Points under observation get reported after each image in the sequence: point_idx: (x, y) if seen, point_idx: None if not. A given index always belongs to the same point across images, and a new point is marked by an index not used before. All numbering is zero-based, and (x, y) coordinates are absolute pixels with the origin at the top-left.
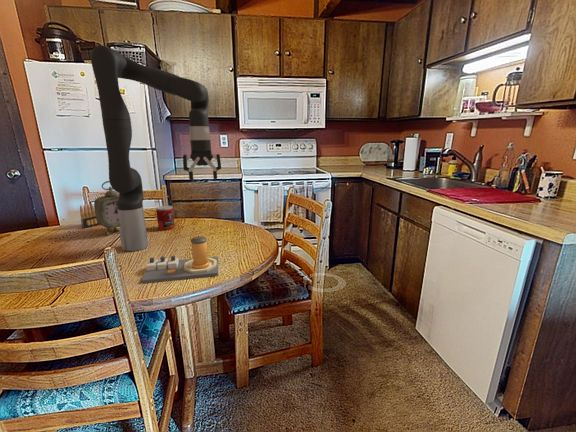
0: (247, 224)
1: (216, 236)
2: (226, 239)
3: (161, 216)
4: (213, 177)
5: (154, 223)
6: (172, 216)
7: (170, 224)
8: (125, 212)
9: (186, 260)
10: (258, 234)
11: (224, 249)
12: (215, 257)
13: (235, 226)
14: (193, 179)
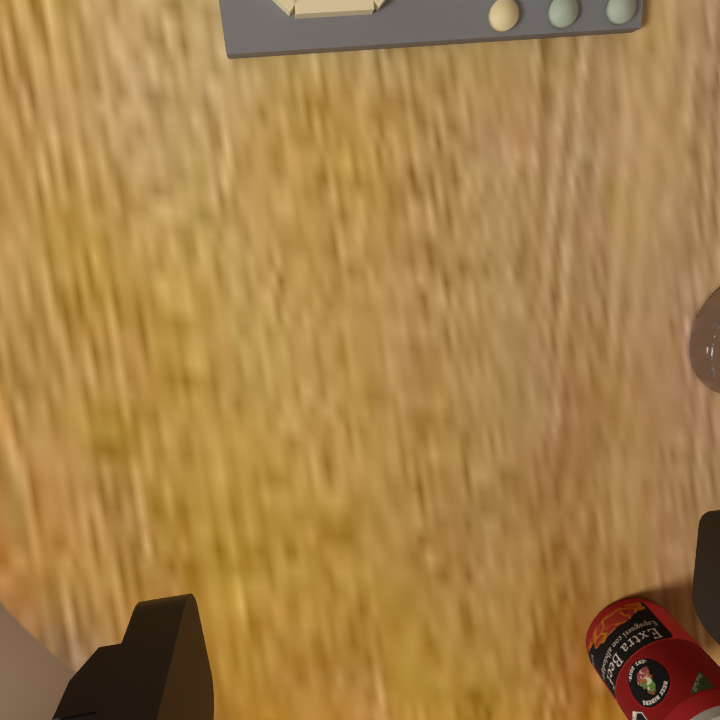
0: None
1: (304, 480)
2: (227, 420)
3: (704, 665)
4: (172, 653)
5: None
6: (632, 692)
7: (618, 634)
8: None
9: (432, 19)
10: (4, 501)
11: (213, 234)
12: (244, 39)
13: None
14: (714, 628)
